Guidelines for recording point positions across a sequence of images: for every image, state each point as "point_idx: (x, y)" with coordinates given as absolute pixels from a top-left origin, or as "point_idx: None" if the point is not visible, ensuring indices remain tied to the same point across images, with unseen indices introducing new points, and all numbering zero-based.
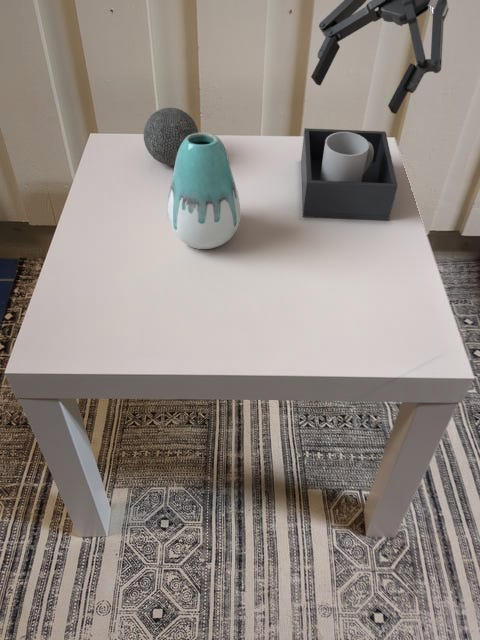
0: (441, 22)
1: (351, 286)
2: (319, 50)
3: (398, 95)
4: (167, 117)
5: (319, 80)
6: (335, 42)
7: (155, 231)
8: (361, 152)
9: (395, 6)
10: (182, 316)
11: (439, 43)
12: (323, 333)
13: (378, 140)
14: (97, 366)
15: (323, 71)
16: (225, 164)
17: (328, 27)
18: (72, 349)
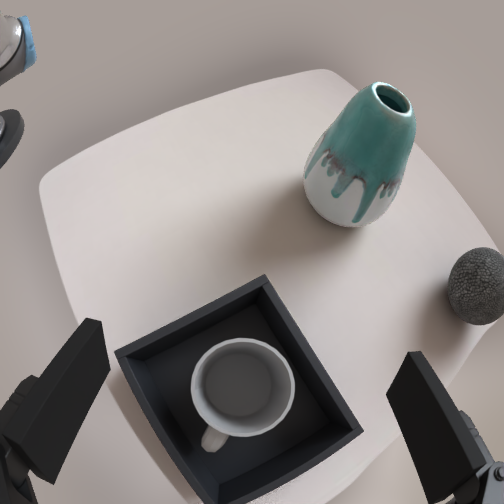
0: None
1: (142, 211)
2: (473, 425)
3: (66, 343)
4: (499, 261)
5: (397, 384)
6: (457, 474)
7: None
8: (218, 421)
9: None
10: (275, 115)
11: None
12: (151, 149)
13: (221, 500)
14: (291, 76)
15: (409, 403)
16: (349, 118)
17: None
18: (315, 80)
